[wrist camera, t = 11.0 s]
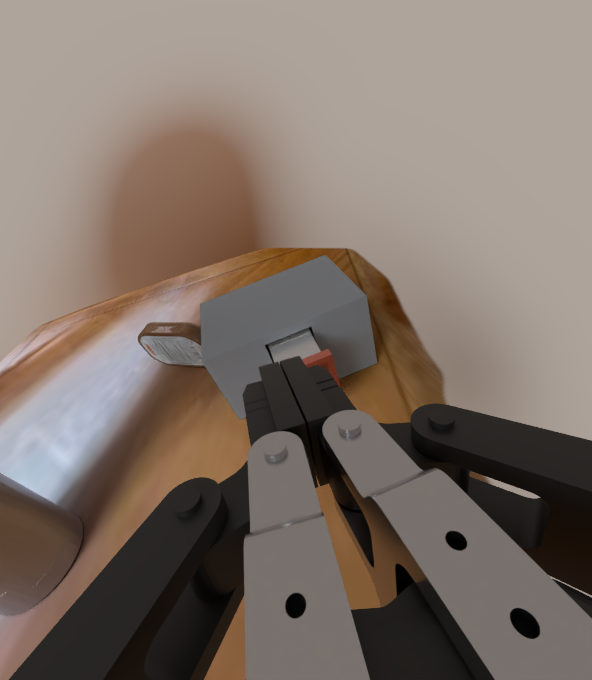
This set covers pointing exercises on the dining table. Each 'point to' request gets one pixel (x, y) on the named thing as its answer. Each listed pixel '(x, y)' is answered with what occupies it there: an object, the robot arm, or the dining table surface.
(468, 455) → the robot arm
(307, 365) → the plug
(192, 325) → the tin
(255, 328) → the socket block
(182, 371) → the dining table surface
